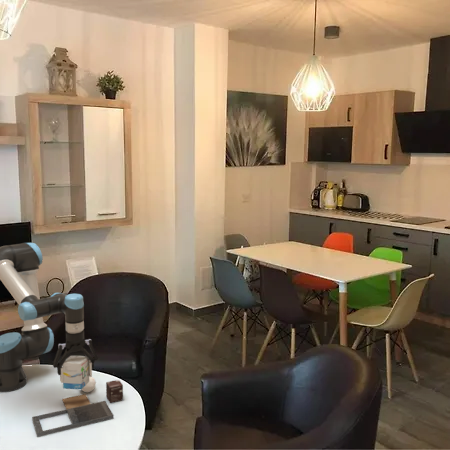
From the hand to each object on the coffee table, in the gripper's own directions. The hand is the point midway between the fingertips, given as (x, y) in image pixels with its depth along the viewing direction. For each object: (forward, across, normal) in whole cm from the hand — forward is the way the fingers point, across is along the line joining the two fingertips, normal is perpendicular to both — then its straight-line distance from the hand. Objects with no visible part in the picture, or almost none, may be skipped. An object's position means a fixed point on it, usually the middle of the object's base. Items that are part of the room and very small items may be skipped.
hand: (76, 378), depth 218 cm
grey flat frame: (+12, -4, -12) cm, 17 cm away
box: (+12, +16, -3) cm, 20 cm away
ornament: (+12, +7, +9) cm, 17 cm away
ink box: (+3, 0, 0) cm, 3 cm away
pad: (+12, 0, 0) cm, 12 cm away
